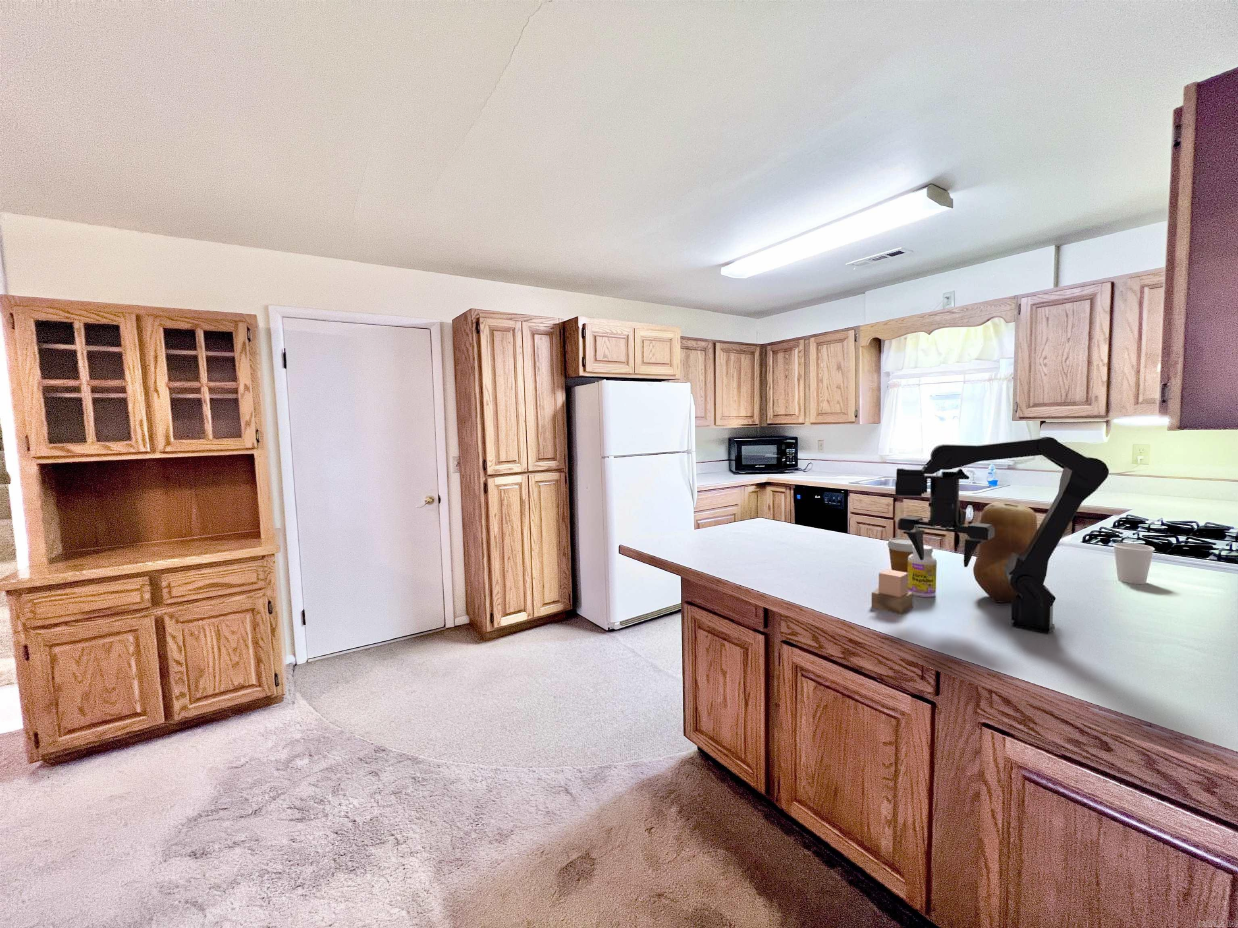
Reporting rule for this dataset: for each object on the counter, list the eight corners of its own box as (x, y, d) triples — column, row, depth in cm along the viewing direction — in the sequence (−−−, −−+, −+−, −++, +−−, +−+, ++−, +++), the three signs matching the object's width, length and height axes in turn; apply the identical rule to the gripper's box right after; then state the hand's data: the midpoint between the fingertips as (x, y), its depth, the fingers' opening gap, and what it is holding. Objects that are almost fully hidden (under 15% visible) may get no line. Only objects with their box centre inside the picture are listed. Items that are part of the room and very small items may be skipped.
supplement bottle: (907, 595, 136) (908, 548, 136) (906, 588, 142) (907, 542, 141) (936, 599, 133) (938, 550, 133) (935, 591, 139) (935, 545, 138)
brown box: (912, 608, 128) (912, 592, 128) (901, 615, 124) (901, 598, 123) (883, 601, 133) (883, 586, 133) (871, 608, 129) (871, 592, 129)
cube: (900, 597, 124) (900, 576, 124) (878, 592, 128) (878, 572, 128) (907, 592, 128) (908, 572, 127) (886, 588, 131) (887, 569, 131)
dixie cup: (1103, 576, 149) (1104, 542, 149) (1132, 576, 149) (1134, 542, 148) (1130, 585, 141) (1132, 549, 140) (1162, 585, 141) (1163, 549, 140)
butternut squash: (1047, 612, 123) (1051, 508, 121) (981, 606, 127) (984, 506, 126) (1023, 594, 136) (1026, 500, 134) (964, 589, 140) (966, 498, 139)
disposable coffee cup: (879, 580, 151) (879, 539, 150) (901, 575, 155) (901, 536, 154) (909, 588, 142) (910, 546, 141) (931, 583, 146) (932, 542, 145)
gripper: (1002, 497, 119) (1000, 564, 120) (914, 491, 133) (913, 551, 134) (988, 502, 112) (986, 573, 113) (896, 496, 126) (896, 558, 127)
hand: (943, 563), depth 122 cm, fingers open, 9 cm apart
